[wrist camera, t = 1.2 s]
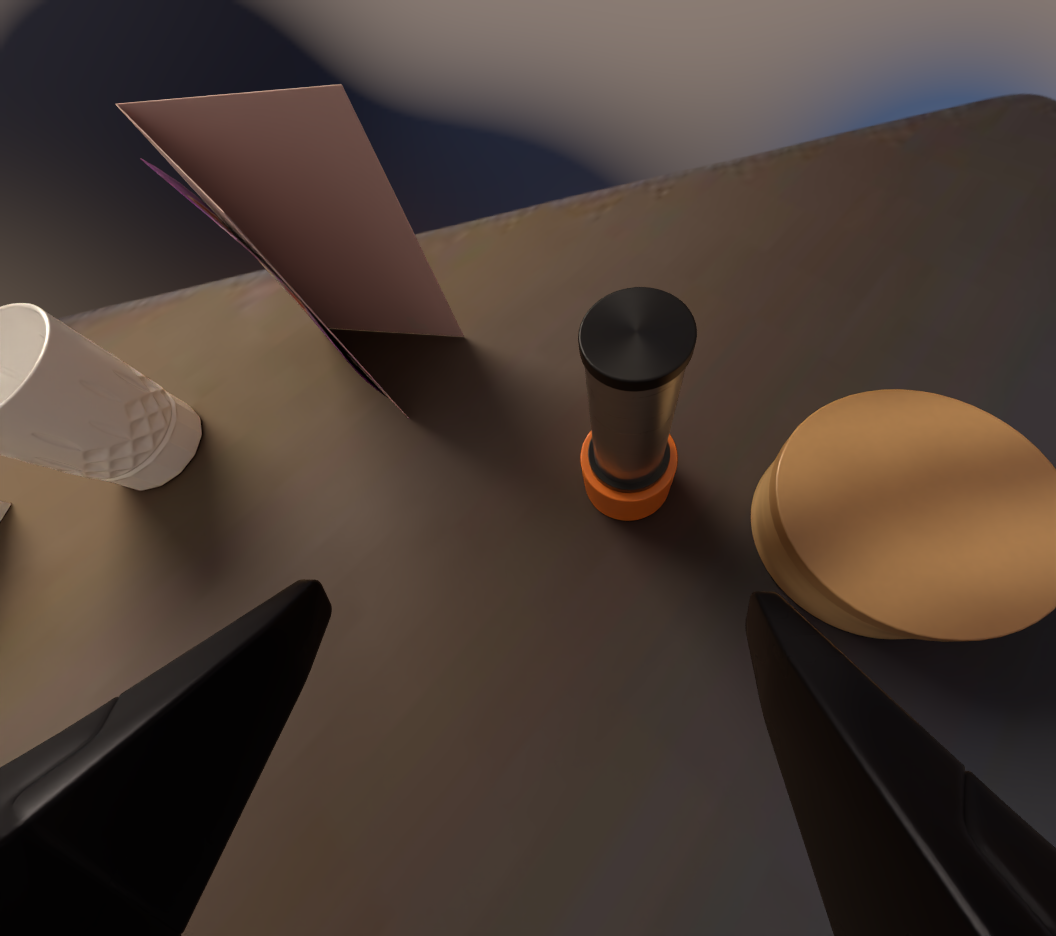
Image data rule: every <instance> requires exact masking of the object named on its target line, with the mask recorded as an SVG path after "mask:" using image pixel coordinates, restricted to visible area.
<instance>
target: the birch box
mask: <svg viewBox="0 0 1056 936" xmlns="http://www.w3.org/2000/svg"><path fill="white" fill-rule="evenodd" d="M751 526H752V534H753V538H754V542H755V545H756V548H757V551H758V553H759V556H760V558H761V560H762V562H763V564H764V565H765V567H766V569H767V571H768V572H769V574H770V575H771V576H772V578H773V579H774V581H775V582H776V583H777V584H778V586H779V587H780V588H781V589H782V590H783V591H784V592H785V593H786V594H787V595H788V596H789V597H790V598H791V599H792V600H793V601H794V602H795V603H796V604H798V605H799V606H800V607H802V608H803V609H804V610H806V611H807V612H809V613H810V614H811V615H813V616H815V617H817V618H818V619H820V620H822V621H824V622H825V623H827V624H830V625H832V626H834V627H836V628H839V629H841V630H844V631H847V632H850V633H853V634H857V635H861V636H866V637H871V638H879V639H920V640H928V641H941V642H957V641H980V640H987V639H993V638H998V637H1003V636H1006V635H1009V634H1012V633H1015V632H1018V631H1021V630H1023V629H1025V628H1027V627H1029V626H1031V625H1033V624H1035V623H1037V622H1039V621H1040V620H1041V619H1043V618H1044V617H1045V616H1046V615H1048V614H1049V613H1050V612H1052V611H1053V610H1054V609H1055V608H1056V469H1055V468H1054V466H1053V465H1052V464H1051V462H1050V461H1049V460H1048V459H1047V458H1046V457H1045V456H1044V455H1043V454H1042V452H1041V451H1040V450H1039V449H1038V448H1037V447H1035V446H1034V445H1033V444H1032V443H1031V442H1030V441H1029V440H1028V439H1027V438H1026V437H1024V436H1023V435H1022V434H1020V433H1019V432H1018V431H1016V430H1015V429H1014V428H1012V427H1011V426H1009V425H1008V424H1006V423H1005V422H1003V421H1001V420H1000V419H998V418H996V417H995V416H993V415H991V414H989V413H987V412H985V411H983V410H981V409H979V408H977V407H975V406H972V405H970V404H967V403H964V402H962V401H959V400H956V399H953V398H949V397H946V396H942V395H938V394H934V393H928V392H922V391H914V390H902V389H894V390H876V391H868V392H863V393H858V394H854V395H850V396H847V397H844V398H841V399H839V400H836V401H834V402H832V403H830V404H828V405H826V406H824V407H822V408H820V409H819V410H817V411H816V412H814V413H813V414H812V415H810V416H809V417H808V418H807V419H806V420H804V421H803V422H802V423H801V424H800V425H799V426H798V427H797V429H796V430H795V431H794V432H793V433H792V435H791V436H790V437H789V438H788V440H787V441H786V442H785V443H784V445H783V446H782V448H781V450H780V452H779V454H778V455H777V457H776V459H775V460H774V462H773V463H772V464H771V465H770V466H769V468H768V469H767V470H766V471H765V473H764V474H763V476H762V478H761V479H760V481H759V483H758V485H757V488H756V490H755V493H754V496H753V501H752V506H751Z"/></svg>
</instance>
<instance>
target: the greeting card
mask: <svg viewBox="0 0 1056 936" xmlns="http://www.w3.org/2000/svg"><path fill="white" fill-rule="evenodd" d="M116 105H117V107H118V108H119V109H120V110H121V111H122V112H123V113H124V114H125V115H126V116H127V117H128V119H130V121H131V122H132V123H133V124H134V125H135V126H136V127H137V128H138V129H139V130H140V131H141V133H142V134H143V135H144V136H145V137H146V138H147V139H148V140H149V141H150V142H151V144H152V145H153V146H154V147H155V148H156V149H157V150H158V151H159V152H160V153H161V154H162V156H163V157H164V158H165V159H166V160H167V161H168V162H169V163H170V164H171V165H172V166H173V167H174V169H175V170H176V171H177V172H178V173H179V174H180V175H181V176H182V177H183V178H184V179H185V181H186V182H187V183H188V184H189V185H190V186H191V187H192V188H193V189H194V190H195V191H196V193H197V194H199V196H200V197H201V198H202V199H203V200H204V201H205V202H206V203H207V204H208V206H209V207H210V208H211V209H212V210H213V211H214V212H215V213H216V214H217V215H218V216H219V217H218V216H217V215H216V214H215V213H214V212H213V211H212V210H211V209H210V208H209V207H208V206H207V205H206V204H205V203H204V202H203V201H202V200H201V199H199V198H198V197H197V196H196V195H194V194H193V193H192V192H191V191H189V190H188V189H187V188H186V187H184V186H183V185H182V184H180V183H179V182H178V181H176V180H175V179H173V178H172V177H170V176H169V175H167V174H166V173H164V172H163V171H161V170H160V169H158V168H157V167H155V166H153V165H152V164H150V163H148V162H146V161H145V160H143V159H141V160H142V161H144V162H145V163H146V164H147V165H148V166H149V167H151V168H152V169H153V170H154V171H155V172H156V173H158V174H159V175H160V176H161V177H162V178H164V179H165V180H166V181H167V182H168V183H170V184H171V185H172V186H173V187H175V189H177V190H178V191H179V192H180V193H181V194H182V195H184V196H185V197H186V198H187V199H188V200H190V201H191V202H192V203H193V204H194V205H196V206H197V207H198V208H199V209H200V210H201V211H203V212H204V213H205V214H206V215H207V216H209V217H210V218H211V219H212V220H213V221H215V222H216V223H217V224H218V225H219V226H220V227H221V228H223V229H224V230H225V231H226V232H227V233H228V234H230V235H231V236H232V237H233V238H234V239H235V240H237V241H238V242H239V243H240V244H241V245H242V246H244V247H245V248H246V249H247V250H248V251H249V252H250V253H252V255H253V256H254V257H255V258H256V259H257V260H258V261H259V262H260V263H261V264H262V265H263V267H264V268H265V269H266V270H267V271H268V272H269V273H270V274H271V275H272V276H273V277H274V279H275V280H276V281H277V282H278V283H279V284H280V285H281V286H282V287H283V288H284V289H285V290H286V292H287V293H288V294H289V295H290V296H291V297H292V298H293V299H294V300H295V301H296V302H297V303H298V305H299V306H300V307H301V308H302V309H303V310H304V311H305V312H306V313H307V314H308V315H309V317H310V318H311V319H312V320H313V321H314V323H315V324H316V325H317V326H318V327H319V328H320V330H321V331H322V332H323V333H324V334H325V336H326V337H327V338H328V339H329V340H330V341H331V343H332V344H333V345H334V346H335V347H336V349H337V350H338V351H339V352H340V353H341V354H342V356H343V357H344V358H345V359H346V360H347V362H348V363H349V364H350V365H351V366H352V367H353V368H354V369H355V371H356V372H357V373H358V374H359V375H360V376H361V377H362V378H364V379H365V380H366V381H367V382H368V383H369V384H370V385H371V386H373V387H374V388H375V389H376V390H378V391H379V392H380V393H382V394H383V395H384V396H386V397H387V398H389V399H390V400H391V401H392V402H393V403H394V404H395V405H396V406H397V407H398V408H399V406H398V405H397V404H396V403H395V402H394V401H393V400H392V399H391V398H390V396H389V395H388V394H387V393H386V392H385V391H384V390H383V389H382V388H381V386H380V385H379V384H378V383H377V382H376V381H375V380H374V379H373V377H372V376H371V375H370V374H369V373H368V372H367V371H366V370H365V369H364V367H363V366H362V365H361V364H360V363H359V362H358V361H357V360H356V359H355V357H354V356H353V355H352V354H351V353H350V352H349V351H348V350H347V349H346V347H345V346H344V345H343V344H342V343H341V342H340V341H339V340H338V338H337V337H336V336H335V335H334V334H333V333H332V332H331V331H330V330H329V328H335V329H351V330H366V331H382V332H398V333H414V334H430V335H446V336H462V337H464V335H463V333H462V331H461V329H460V327H459V325H458V323H457V321H456V319H455V317H454V315H453V313H452V311H451V308H450V306H449V304H448V302H447V300H446V298H445V296H444V294H443V292H442V290H441V288H440V286H439V284H438V282H437V280H436V278H435V276H434V273H433V271H432V269H431V267H430V265H429V263H428V261H427V259H426V257H425V255H424V253H423V251H422V249H421V247H420V245H419V243H418V241H417V239H416V236H415V234H414V233H413V230H412V228H411V226H410V224H409V222H408V220H407V218H406V216H405V214H404V212H403V210H402V208H401V206H400V204H399V201H398V200H397V198H396V195H395V193H394V191H393V189H392V187H391V185H390V183H389V181H388V179H387V177H386V175H385V173H384V171H383V169H382V166H381V165H380V162H379V160H378V158H377V157H376V154H375V152H374V150H373V148H372V146H371V144H370V142H369V140H368V138H367V136H366V134H365V132H364V130H363V127H362V125H361V123H360V121H359V119H358V117H357V115H356V113H355V111H354V109H353V107H352V105H351V103H350V101H349V99H348V97H347V94H346V92H345V90H344V88H343V86H342V85H341V84H339V85H327V86H316V87H304V88H292V89H282V90H269V91H258V92H246V93H235V94H223V95H212V96H201V97H189V98H178V99H166V100H154V101H142V102H131V103H120V104H116ZM399 409H400V408H399ZM400 410H401V409H400ZM401 411H402V410H401ZM402 412H403V411H402ZM403 413H404V412H403ZM404 414H405V413H404ZM405 415H406V414H405ZM406 416H407V415H406ZM407 418H408V417H407ZM408 419H409V418H408Z"/></svg>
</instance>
